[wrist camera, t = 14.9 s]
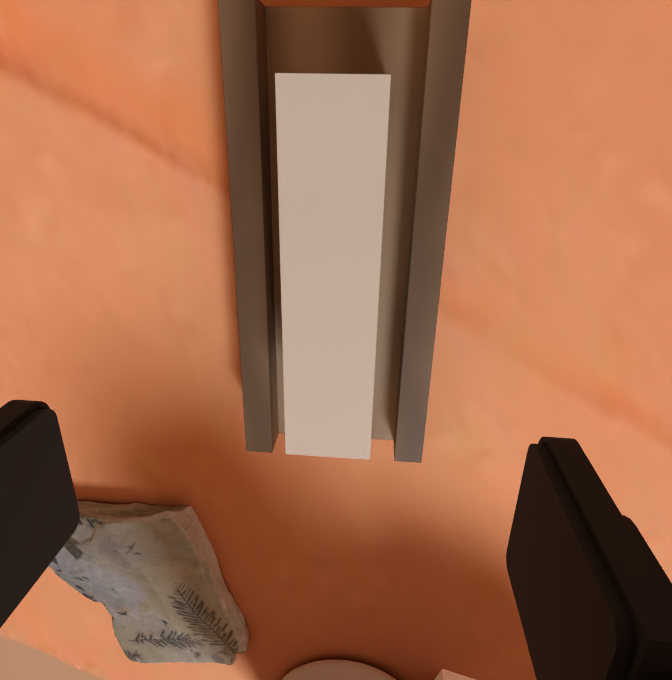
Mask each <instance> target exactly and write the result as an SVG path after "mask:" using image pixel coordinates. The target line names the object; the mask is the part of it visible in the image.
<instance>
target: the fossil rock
mask: <svg viewBox="0 0 672 680" xmlns="http://www.w3.org/2000/svg"><path fill="white" fill-rule="evenodd" d="M77 503H78V508H79V513H80V519H79V523H78V526H77V528H76V530H75V532H74V533H73V535H72V536H71V537H70V538H69V540H68V541H67V542H66V544H65V545H64V546H63V548H62V549H61V550H60V551H59V553H58V554H57V555H56V557H55V558H54V559H53V560H52V562H51V563H50V564H49V567H51V568H52V569H53V570H54V572H55V573H56V574H57V575H58V576H59V577H60V578H61V579H63V580H64V581H66V582H67V583H68V584H69V585H70V586H71V587H73V588H74V589H75V590H77V591H78V592H80V593H81V594H82V595H84V596H85V597H87V598H89V599H90V600H92V601H94V602H101V603H103V604H104V606H105V607H106V609H107V610H108V612H109V613H110V614H111V616H112V617H113V629H114V634H115V636H116V638H117V640H118V642H119V644H120V646H121V648H122V649H123V651H124V653H125V655H126V656H127V657H128V658H129V659H130V660H131V661H134V662H140V663H165V662H185V663H207V662H211V663H222V664H227V665H232V664H233V663H234V661H235V659H236V653H242V652H246V650H247V647H248V637H249V632H248V629H247V627H246V622H245V618H244V616H243V614H242V613H241V611H240V609H239V608H238V606H237V604H236V603H235V600H234V599H233V597H232V595H231V594H230V593H229V592H228V589H227V587H226V585H225V582H224V580H223V577H222V573H221V570H220V567H219V563H218V559H217V557H216V554H215V552H214V549H213V547H212V545H211V543H210V541H209V539H208V537H207V535H206V532H205V530H204V528H203V526H202V525H201V523H200V522H199V519H198V517H197V515H196V513H195V512H194V510H193V508H192V507H191V506H162V505H149V504H142V503H137V502H136V503H130V504H120V505H118V504H102V503H97V502H90V501H77Z"/></svg>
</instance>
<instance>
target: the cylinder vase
mask: <svg viewBox="0 0 672 680" xmlns="http://www.w3.org/2000/svg"><path fill="white" fill-rule="evenodd" d="M282 680H396V679H395V678H393V677H392V676H390V675H389V674H387V673H385V672H383V671H381V670H379V669H377V668H375V667H372V666H369V665H366V664H363V663H359V662H354V661H348V660H335V659H333V660H320V661H314V662H310V663H307V664H304V665H301V666H299V667H297V668H295V669H294V670H292V671H290V672H289V673H288V674H287V675H285V676H284V677H283V678H282Z"/></svg>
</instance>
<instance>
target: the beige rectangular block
mask: <svg viewBox="0 0 672 680" xmlns="http://www.w3.org/2000/svg"><path fill="white" fill-rule="evenodd" d="M390 83H391V75H387V74H307V73H275V91H276V127H277V163H278V199H279V235H280V271H281V307H282V344H283V380H284V416H285V452H286V454H292V455H308V456H323V457H338V458H353V459H368V460H370V448H371V430H372V411H373V393H374V375H375V357H376V338H377V320H378V302H379V284H380V266H381V247H382V229H383V211H384V193H385V174H386V156H387V138H388V120H389V102H390Z"/></svg>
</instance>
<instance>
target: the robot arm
mask: <svg viewBox="0 0 672 680" xmlns="http://www.w3.org/2000/svg"><path fill="white" fill-rule="evenodd" d="M79 519H80V513H79V508H78V503H77V499H76V495H75V491H74V487H73V482H72V478H71V474H70V470H69V465H68V461H67V457H66V453H65V449H64V444H63V440H62V436H61V432H60V427H59V423H58V419H57V416H56V413H55V412H54V411H53V410H51V409H50V408H49V406H48V405H47V404H46V403H44V402H42V401H28V400H12V401H10V402H8V403H6V404H5V405H4V406H2V407H1V408H0V628H1V627H2V625H3V624H4V623H5V621H6V620H7V619H8V617H9V616H10V615H11V614H12V612H13V611H14V610H15V608H16V607H17V606H18V605H19V603H20V602H21V601H22V599H23V598H24V597H25V595H26V594H27V593H28V592H29V590H30V589H31V588H32V586H33V585H34V584H35V582H36V581H37V580H38V579H39V577H40V576H41V575H42V573H43V572H44V571H45V570H46V568H47V567H48V566H49V564H50V563H51V562H52V560H53V559H54V558H55V557H56V555H57V554H58V553H59V551H60V550H61V549H62V548H63V546H64V545H65V544H66V542H67V541H68V540H69V538H70V537H71V536H72V535H73V533H74V532H75V530H76V528H77V526H78V523H79ZM506 562H507V570H508V574H509V578H510V582H511V585H512V589H513V593H514V597H515V600H516V604H517V608H518V611H519V615H520V619H521V623H522V626H523V630H524V634H525V637H526V641H527V645H528V649H529V652H530V656H531V660H532V664H533V667H534V671H535V675H536V678H537V680H672V583H671V582H670V580H669V578H668V577H667V575H666V574H665V572H664V570H663V569H662V567H661V566H660V564H659V562H658V561H657V559H656V557H655V556H654V554H653V553H652V551H651V549H650V548H649V546H648V545H647V543H646V541H645V540H644V538H643V536H642V535H641V533H640V532H639V530H638V528H637V527H636V525H635V524H634V523H633V522H632V520H631V519H630V518H628V517H626V516H624V515H621V513H620V511H619V510H618V508H617V506H616V505H615V503H614V501H613V500H612V498H611V496H610V495H609V493H608V491H607V490H606V488H605V486H604V485H603V483H602V481H601V480H600V478H599V476H598V475H597V473H596V471H595V470H594V468H593V466H592V465H591V463H590V461H589V460H588V458H587V456H586V455H585V453H584V451H583V450H582V448H581V446H580V445H579V443H578V442H577V441H576V440H575V439H570V438H556V437H542V438H541V439H540V441H539V443H538V444H530V446H529V448H528V452H527V456H526V461H525V466H524V471H523V476H522V480H521V485H520V490H519V495H518V499H517V504H516V509H515V514H514V519H513V523H512V528H511V533H510V538H509V542H508V547H507V554H506Z"/></svg>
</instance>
